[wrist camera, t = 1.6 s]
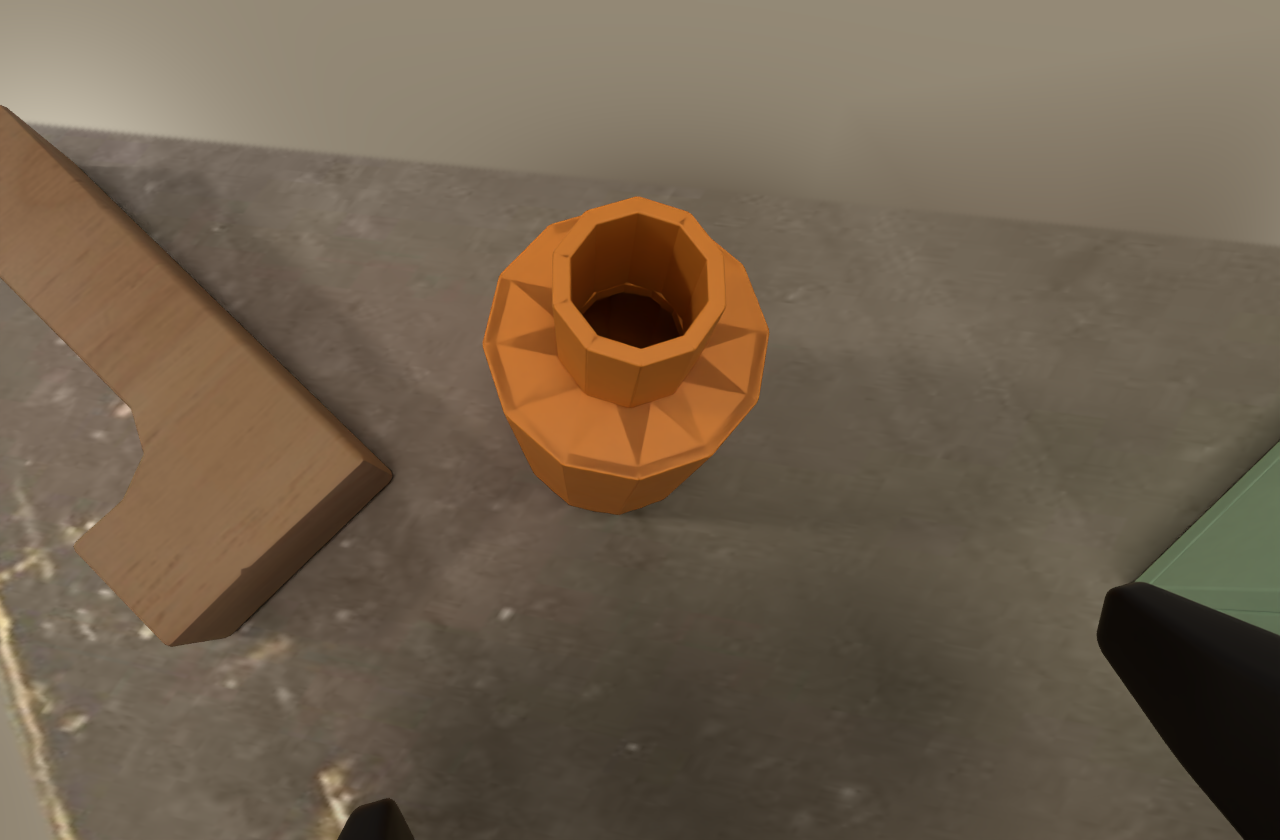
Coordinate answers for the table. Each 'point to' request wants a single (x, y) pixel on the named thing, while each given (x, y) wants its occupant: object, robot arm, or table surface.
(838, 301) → the table surface
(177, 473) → the wooden block
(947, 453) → the table surface
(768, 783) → the table surface
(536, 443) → the bottle
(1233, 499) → the box
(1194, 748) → the robot arm
